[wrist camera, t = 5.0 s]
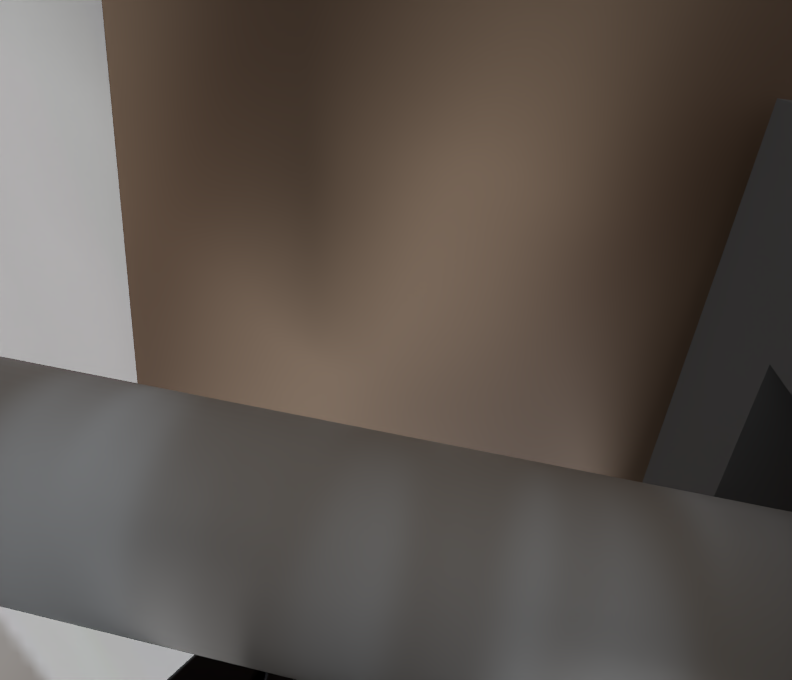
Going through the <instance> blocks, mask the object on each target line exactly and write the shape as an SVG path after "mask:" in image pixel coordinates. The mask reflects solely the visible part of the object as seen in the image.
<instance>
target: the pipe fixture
mask: <svg viewBox="0 0 792 680" xmlns="http://www.w3.org/2000/svg"><path fill="white" fill-rule="evenodd" d="M102 8H103V19H104V29H105V40H106V51H107V61H108V72H109V83H110V93H111V104H112V115H113V125H114V136H115V147H116V157H117V168H118V179H119V189H120V200H121V211H122V221H123V232H124V243H125V253H126V264H127V275H128V285H129V296H130V307H131V317H132V328H133V339H134V349H135V360H136V371H137V381H138V384H137V383H132V382H127V381H122V380H117V379H112V378H107V377H102V376H97V375H92V374H86V373H81V372H76V371H71V370H66V369H61V368H56V367H51V366H46V365H41V364H36V363H30V362H25V361H20V360H15V359H10V358H5V357H0V606H1V607H6V608H10V609H14V610H18V611H22V612H26V613H30V614H34V615H38V616H42V617H46V618H50V619H54V620H58V621H62V622H66V623H70V624H74V625H78V626H82V627H86V628H90V629H94V630H98V631H102V632H106V633H110V634H114V635H118V636H122V637H127V638H131V639H135V640H139V641H143V642H147V643H151V644H155V645H159V646H163V647H167V648H171V649H175V650H179V651H183V652H187V653H191V654H195V655H199V656H203V657H207V658H211V659H215V660H219V661H223V662H227V663H231V664H235V665H239V666H243V667H247V668H252V669H256V670H260V671H264V672H268V673H272V674H276V675H280V676H284V677H288V678H292V679H296V680H792V512H790V511H785V510H779V509H774V508H769V507H764V506H759V505H754V504H749V503H744V502H739V501H734V500H728V499H723V498H718V497H713V496H708V495H703V494H698V493H693V492H688V491H683V490H678V489H672V488H667V487H662V486H657V485H652V484H647V483H642V482H643V479H644V476H645V473H646V470H647V467H648V465H649V462H650V459H651V456H652V453H653V450H654V447H655V445H656V442H657V439H658V436H659V433H660V430H661V428H662V425H663V422H664V419H665V416H666V413H667V410H668V408H669V405H670V402H671V399H672V396H673V393H674V391H675V388H676V385H677V382H678V379H679V376H680V373H681V371H682V368H683V365H684V362H685V359H686V356H687V353H688V351H689V348H690V345H691V342H692V339H693V336H694V334H695V331H696V328H697V325H698V322H699V319H700V316H701V314H702V311H703V308H704V305H705V302H706V299H707V297H708V294H709V291H710V288H711V285H712V282H713V279H714V277H715V274H716V271H717V268H718V265H719V262H720V260H721V257H722V254H723V251H724V248H725V245H726V242H727V240H728V237H729V234H730V231H731V228H732V225H733V223H734V220H735V217H736V214H737V211H738V208H739V205H740V203H741V200H742V197H743V194H744V191H745V188H746V186H747V183H748V180H749V177H750V174H751V171H752V168H753V166H754V163H755V160H756V157H757V154H758V151H759V149H760V146H761V143H762V140H763V137H764V134H765V131H766V129H767V126H768V123H769V120H770V117H771V114H772V112H773V109H774V106H775V103H776V100H777V98H779V99H787V100H792V0H102Z"/></svg>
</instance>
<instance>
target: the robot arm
mask: <svg viewBox="0 0 792 680" xmlns="http://www.w3.org/2000/svg"><path fill="white" fill-rule="evenodd" d="M167 680H296V679H292V678H288V677H284V676H280V675H276V674H272V673H268V672H264V671H260V670H256V669H252V668H247V667H243V666H239V665H235V664H231V663H227V662H223V661H219V660H215V659H211V658H207V657H203V656H199V655H194V656H193V657H191V658H190V659H189V660H188V661H187V662H186V663H185V664H184V665H183V666H182V667H180V668H179V669H178V670H177V671H176V672H175V673H174V674H173V675H172V676H171V677H170V678H168V679H167Z"/></svg>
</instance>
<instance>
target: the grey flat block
mask: <svg viewBox="0 0 792 680" xmlns="http://www.w3.org/2000/svg"><path fill="white" fill-rule="evenodd" d="M642 483H647V484H652V485H657V486H662V487H667V488H672V489H678V490H683V491H688V492H693V493H698V494H703V495H708V496H713V497H718V498H723V499H728V500H734V501H739V502H744V503H749V504H754V505H759V506H764V507H769V508H774V509H779V510H785V511H790V512H792V100H787V99H779V98H777V100H776V103H775V106H774V109H773V112H772V114H771V117H770V120H769V123H768V126H767V129H766V131H765V134H764V137H763V140H762V143H761V146H760V149H759V151H758V154H757V157H756V160H755V163H754V166H753V168H752V171H751V174H750V177H749V180H748V183H747V186H746V188H745V191H744V194H743V197H742V200H741V203H740V205H739V208H738V211H737V214H736V217H735V220H734V223H733V225H732V228H731V231H730V234H729V237H728V240H727V242H726V245H725V248H724V251H723V254H722V257H721V260H720V262H719V265H718V268H717V271H716V274H715V277H714V279H713V282H712V285H711V288H710V291H709V294H708V297H707V299H706V302H705V305H704V308H703V311H702V314H701V316H700V319H699V322H698V325H697V328H696V331H695V334H694V336H693V339H692V342H691V345H690V348H689V351H688V353H687V356H686V359H685V362H684V365H683V368H682V371H681V373H680V376H679V379H678V382H677V385H676V388H675V391H674V393H673V396H672V399H671V402H670V405H669V408H668V410H667V413H666V416H665V419H664V422H663V425H662V428H661V430H660V433H659V436H658V439H657V442H656V445H655V447H654V450H653V453H652V456H651V459H650V462H649V465H648V467H647V470H646V473H645V476H644V479H643V482H642Z"/></svg>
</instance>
